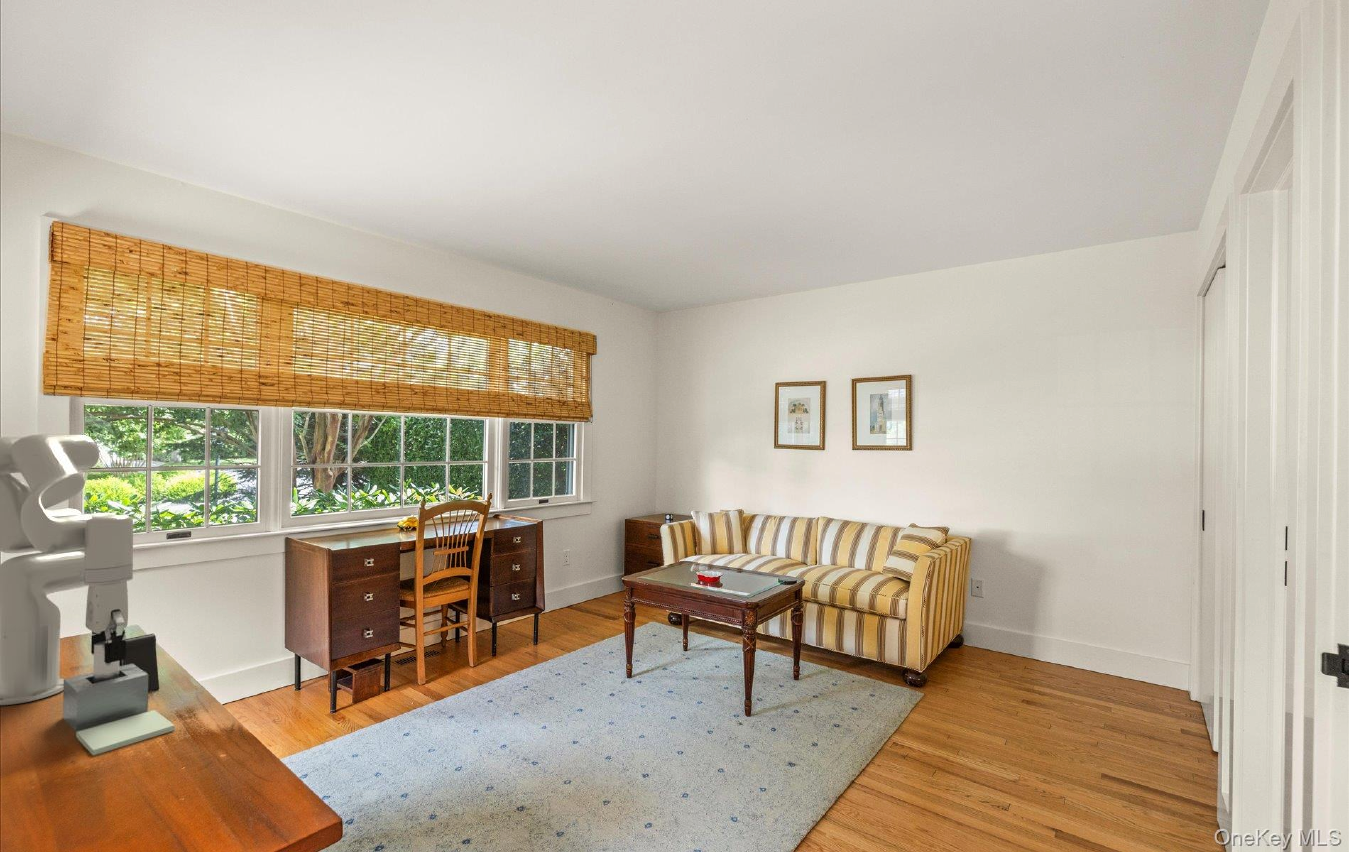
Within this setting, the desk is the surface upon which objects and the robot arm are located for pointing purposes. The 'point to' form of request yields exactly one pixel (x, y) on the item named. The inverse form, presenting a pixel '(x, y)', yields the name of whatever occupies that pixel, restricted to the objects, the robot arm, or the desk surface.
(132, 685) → the chuck block
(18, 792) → the desk surface
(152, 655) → the phone stand
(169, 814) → the desk surface
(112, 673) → the grey metal cylinder
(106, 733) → the mat
